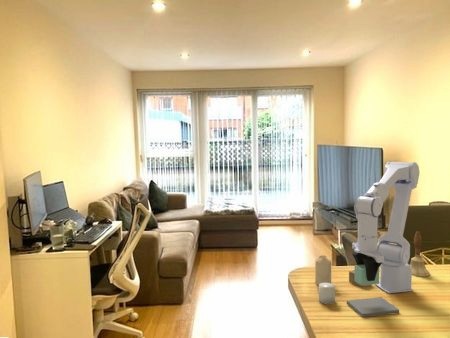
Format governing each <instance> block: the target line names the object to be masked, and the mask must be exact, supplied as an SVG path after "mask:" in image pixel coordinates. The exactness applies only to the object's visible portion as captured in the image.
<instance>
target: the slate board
mask: <svg viewBox="0 0 450 338" xmlns="http://www.w3.org/2000/svg"><path fill="white" fill-rule="evenodd" d="M346 305H347V306H349V307H350V308H351V309H352V310H353V311H355V313H357V314H358V315H359V316H360V317H362V318H368V317H376V316H385V315H393V314H399V313H400V309H399V308H398V307H397V306H395V305H393V304H392V303H391V302H389V301H387V300H386V299H385V298H383V297H382V296H381V297H380V296H379V297H369V298H360V299H350V300H348V299H347V300H346Z"/></svg>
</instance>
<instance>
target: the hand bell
mask: <svg viewBox="0 0 450 338" xmlns="http://www.w3.org/2000/svg"><path fill="white" fill-rule="evenodd" d="M422 239H423V238H422V235H421V233H420V231H415V235H414V237H413V243H414V247H415V253H414V257H410V258H411V259H410V263H409V266H410V267H411V271H412V276H414V277H429V276H430V271H429V270H428V269H427V267H426V264H425V259H424V258H423V257H421V247H422V244H423V243H422Z"/></svg>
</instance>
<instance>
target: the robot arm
mask: <svg viewBox="0 0 450 338" xmlns="http://www.w3.org/2000/svg"><path fill="white" fill-rule="evenodd" d="M383 171H384V174H383V175H382V177H381V179H380V180H379V182H378V181H377V182H374V183H373V184H372V185H371V187H370V188H369V189H368V190H367V191H366V193H365V194H363V195H361V196H359V197H357V198H356V200H355V201H354V206H353V210H354V213H355V218H356V220H357V242H352V244H351V246H352V247H351V249H353V250H354V252H352V253H351V254H352V257H353V258H354V260H355V265H364V264H365V267H366V276H367V280H368V281H374V280H375V277H376V274H377V271H378V269H379V284H374V285H375V286H377V287H378V288H379V289H381V290H382V291H384V292H386V293H387V294H396V293H406V292H413V291H414V289H413V288H412V277H413V275H412V271H411V267H410V263H409V261H410V258H411V257H410V256H411V245H410V243H409V241H408V240H407V239H406V238H405V237H404V231H405V228H406V227H405V226H406V222H407V216H408V212H409V205H410V201H411V196H412V190H415V189H416V188H417V187H418V184H419V178H420V167H419V164H418V163H417V162H415V161H412V162H406V161H405V162H404V161H392V160H391V161H387V162H386V164H385V165H384V170H383ZM391 187H392V188H394V189H395V191H394V197H393V198H394V199H393V202H392V208H391V214H390V218H389V223H388V228H387V232H386V233H385V234H383V235H381V236H380V237H379V238H378V222H379V220H378V218H379V216H380V215H381V213H382V208H383V206H384V203H385V201H386V200H387V198H388V197H389V196H390V194H391V193H390V191H391V190H390V189H391Z"/></svg>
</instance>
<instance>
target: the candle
mask: <svg viewBox="0 0 450 338" xmlns="http://www.w3.org/2000/svg"><path fill="white" fill-rule="evenodd" d="M314 261H315V263H314V264H315V268H314V269H315V270H314V272H315V278H314V280H315V281H314V282H315V285H316V286H319V284H320V283H331V284H332V260H331V259H330V258H329V257H328V256H326V255H319V256H318V257H317V258H316V259H315V260H314Z"/></svg>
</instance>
